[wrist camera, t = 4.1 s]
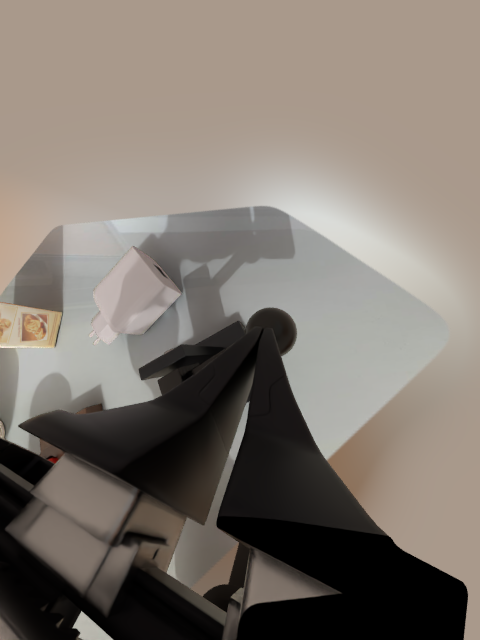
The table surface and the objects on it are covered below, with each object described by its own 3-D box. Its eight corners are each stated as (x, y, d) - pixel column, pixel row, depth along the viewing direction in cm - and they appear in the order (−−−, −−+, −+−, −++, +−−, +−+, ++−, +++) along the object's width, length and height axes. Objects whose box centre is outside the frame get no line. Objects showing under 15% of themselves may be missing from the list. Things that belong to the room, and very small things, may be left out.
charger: (97, 321, 30) (154, 259, 29) (119, 362, 27) (184, 295, 26) (63, 316, 25) (129, 242, 24) (85, 364, 22) (162, 283, 21)
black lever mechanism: (241, 321, 22) (207, 301, 13) (274, 388, 20) (260, 420, 11) (174, 359, 24) (103, 363, 15) (197, 424, 22) (128, 478, 12)
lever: (286, 301, 12) (271, 293, 9) (310, 341, 11) (302, 346, 8) (181, 368, 17) (150, 376, 14) (192, 400, 16) (162, 415, 13)
